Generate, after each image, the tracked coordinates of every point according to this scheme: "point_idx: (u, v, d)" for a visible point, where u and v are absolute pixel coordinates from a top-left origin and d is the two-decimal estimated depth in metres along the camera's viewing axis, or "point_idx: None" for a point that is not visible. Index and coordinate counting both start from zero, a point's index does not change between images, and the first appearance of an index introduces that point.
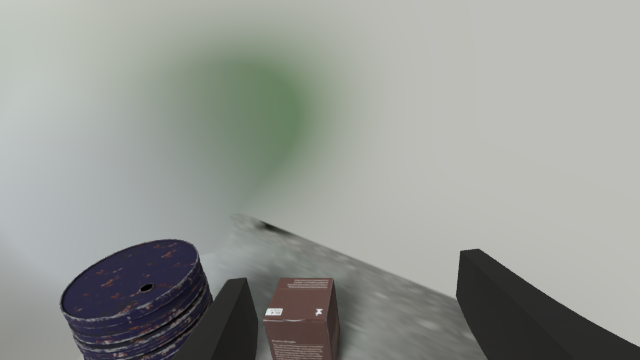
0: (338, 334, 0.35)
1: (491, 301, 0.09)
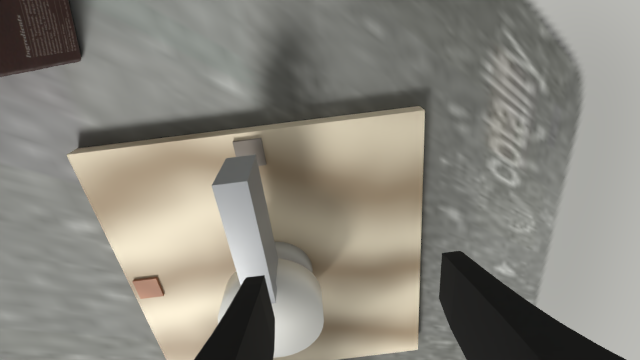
0: None
1: (470, 304, 0.09)
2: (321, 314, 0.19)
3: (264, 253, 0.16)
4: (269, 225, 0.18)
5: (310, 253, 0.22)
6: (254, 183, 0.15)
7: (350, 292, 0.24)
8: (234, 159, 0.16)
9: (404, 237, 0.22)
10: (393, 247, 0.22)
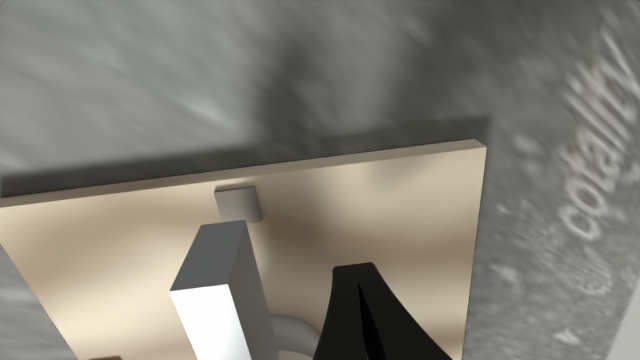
0: None
1: (366, 317, 0.09)
2: None
3: None
4: (266, 313, 0.12)
5: (321, 327, 0.17)
6: (242, 272, 0.10)
7: None
8: (213, 228, 0.11)
9: (445, 307, 0.17)
10: (430, 319, 0.17)
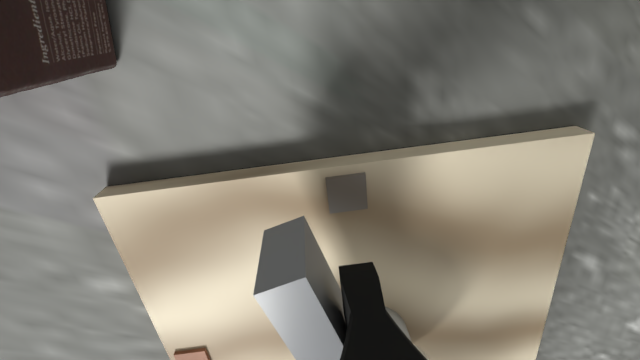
0: None
1: (349, 319, 0.09)
2: None
3: None
4: None
5: (407, 316, 0.17)
6: (314, 265, 0.10)
7: None
8: (276, 230, 0.11)
9: (531, 295, 0.17)
10: (514, 307, 0.17)
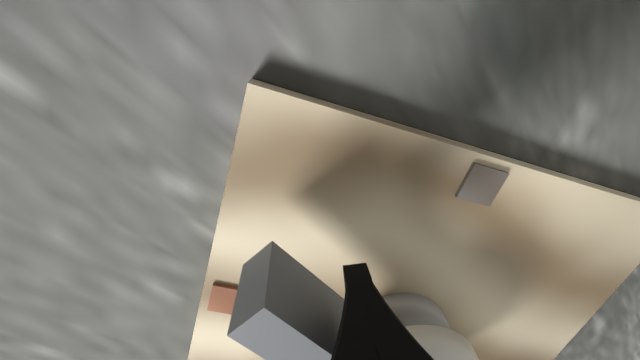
0: None
1: None
2: None
3: None
4: None
5: (449, 321, 0.17)
6: (285, 288, 0.10)
7: None
8: (251, 262, 0.12)
9: (554, 337, 0.18)
10: (535, 343, 0.18)
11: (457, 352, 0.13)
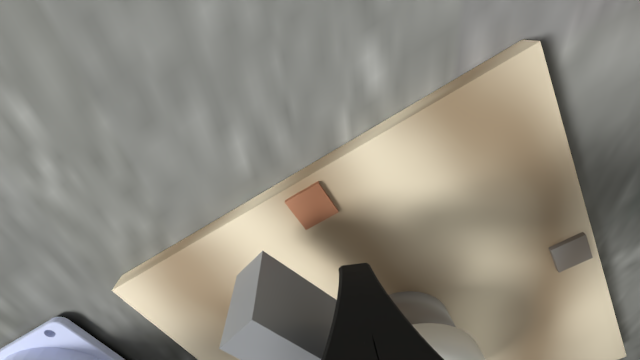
0: None
1: None
2: None
3: None
4: None
5: None
6: (275, 297, 0.10)
7: None
8: (243, 273, 0.12)
9: None
10: None
11: (458, 349, 0.13)
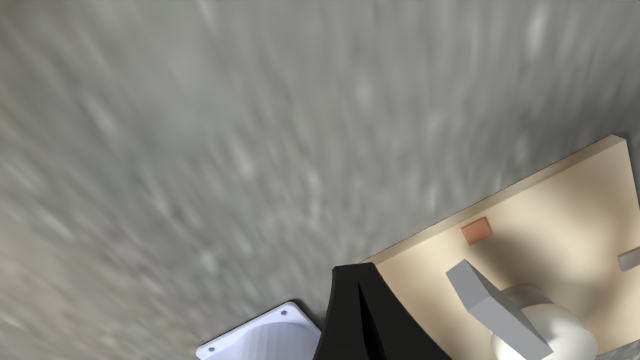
0: None
1: (366, 317, 0.09)
2: (590, 336, 0.21)
3: (526, 327, 0.19)
4: (503, 295, 0.21)
5: None
6: (485, 285, 0.19)
7: None
8: (453, 271, 0.20)
9: None
10: None
11: (571, 318, 0.21)
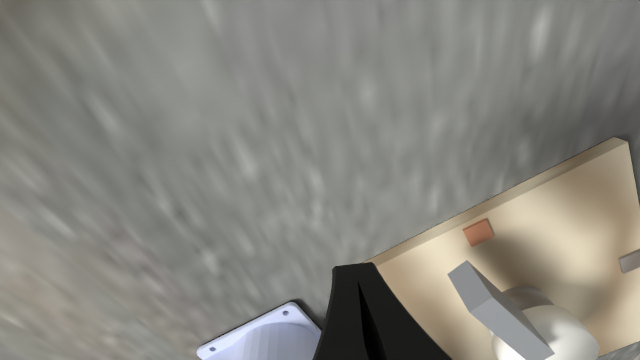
0: None
1: (366, 317, 0.09)
2: (591, 337, 0.21)
3: (527, 328, 0.19)
4: (504, 296, 0.21)
5: None
6: (487, 286, 0.19)
7: None
8: (455, 272, 0.20)
9: None
10: None
11: (572, 320, 0.21)
